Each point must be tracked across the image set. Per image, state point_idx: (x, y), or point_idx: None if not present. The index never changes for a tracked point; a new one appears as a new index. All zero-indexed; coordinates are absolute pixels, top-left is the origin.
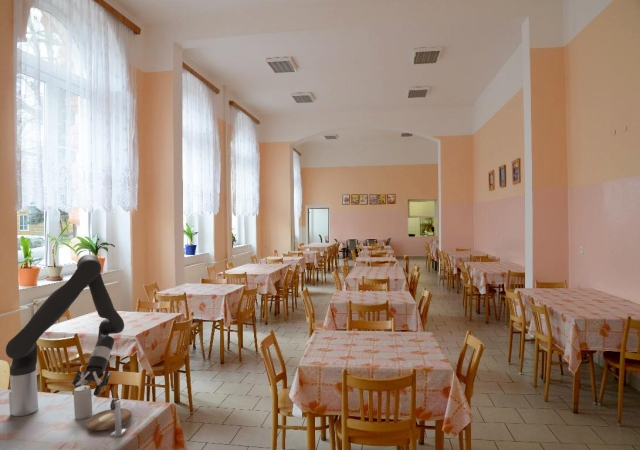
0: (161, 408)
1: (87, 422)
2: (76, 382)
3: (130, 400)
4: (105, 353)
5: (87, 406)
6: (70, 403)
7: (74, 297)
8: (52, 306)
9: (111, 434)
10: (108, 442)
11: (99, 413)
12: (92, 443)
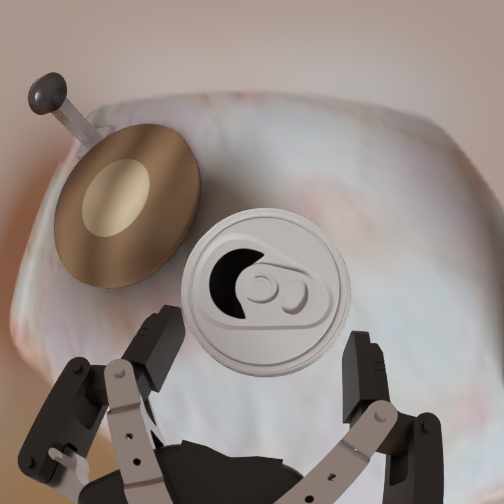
0: (18, 308)
1: (188, 154)
2: (402, 441)
3: None
4: None
5: (229, 270)
6: None
7: None
8: None
9: (109, 126)
10: (119, 109)
11: (161, 240)
12: (156, 100)
